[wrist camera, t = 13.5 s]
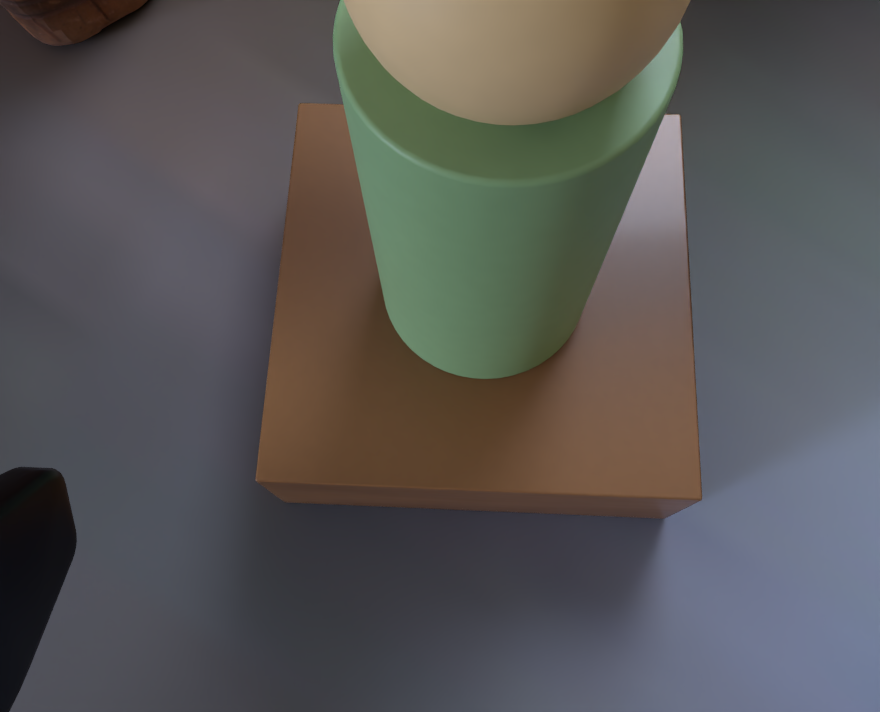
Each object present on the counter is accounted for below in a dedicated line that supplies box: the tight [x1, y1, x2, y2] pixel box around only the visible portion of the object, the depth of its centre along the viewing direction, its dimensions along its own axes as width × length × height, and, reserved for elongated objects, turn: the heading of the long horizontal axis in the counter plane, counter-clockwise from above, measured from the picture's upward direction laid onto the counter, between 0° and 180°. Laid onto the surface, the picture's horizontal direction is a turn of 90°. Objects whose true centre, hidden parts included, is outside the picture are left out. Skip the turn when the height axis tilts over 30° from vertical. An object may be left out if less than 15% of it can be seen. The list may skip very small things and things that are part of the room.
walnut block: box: [255, 103, 702, 519], centre depth 19 cm, size 9×9×3 cm
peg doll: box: [333, 0, 690, 379], centre depth 12 cm, size 4×4×12 cm
